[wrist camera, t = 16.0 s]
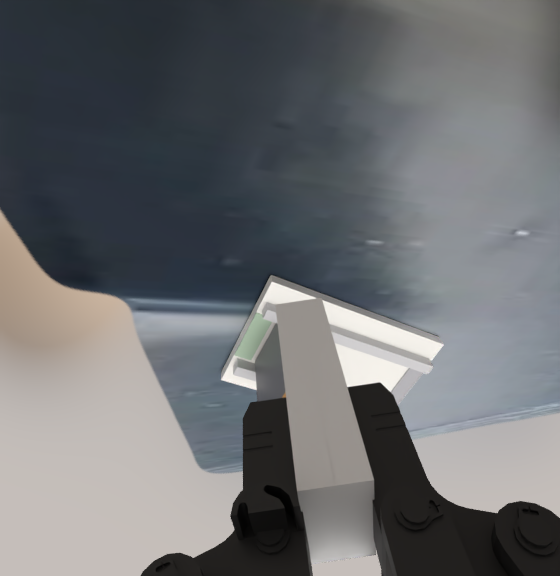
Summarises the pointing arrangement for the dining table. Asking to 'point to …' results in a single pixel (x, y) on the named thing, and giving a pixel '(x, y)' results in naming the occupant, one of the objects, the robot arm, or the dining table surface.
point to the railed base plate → (340, 342)
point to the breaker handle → (270, 369)
